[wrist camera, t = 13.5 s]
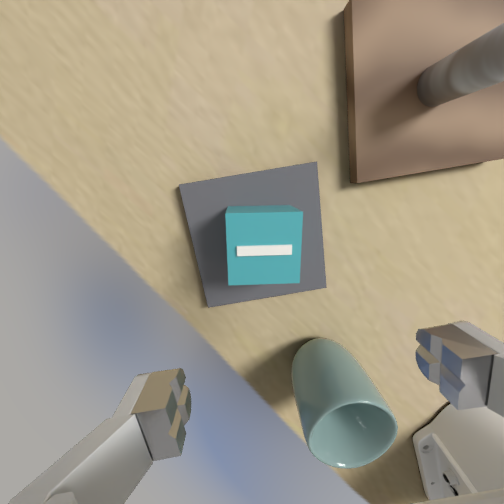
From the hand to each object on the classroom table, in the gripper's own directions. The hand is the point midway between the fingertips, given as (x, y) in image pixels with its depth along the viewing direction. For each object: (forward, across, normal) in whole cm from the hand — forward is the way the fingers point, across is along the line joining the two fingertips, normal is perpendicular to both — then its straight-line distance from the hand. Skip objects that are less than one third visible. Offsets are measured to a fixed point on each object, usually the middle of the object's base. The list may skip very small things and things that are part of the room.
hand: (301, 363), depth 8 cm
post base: (+18, -17, -12) cm, 27 cm away
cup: (+18, -5, +15) cm, 24 cm away
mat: (+18, 0, -1) cm, 18 cm away
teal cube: (+17, 0, -1) cm, 17 cm away
